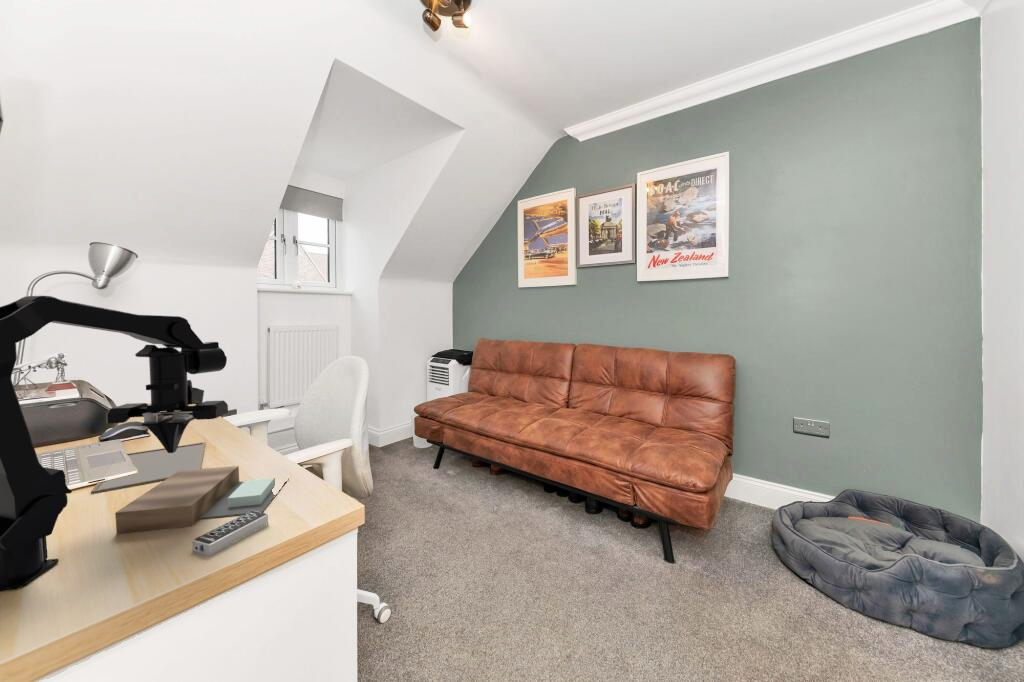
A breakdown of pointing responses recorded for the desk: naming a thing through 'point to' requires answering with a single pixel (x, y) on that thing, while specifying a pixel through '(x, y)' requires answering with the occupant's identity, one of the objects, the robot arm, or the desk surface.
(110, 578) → the desk surface
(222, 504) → the mat
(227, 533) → the multiport hub
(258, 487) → the block
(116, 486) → the thin grey panel
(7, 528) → the robot arm
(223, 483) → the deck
